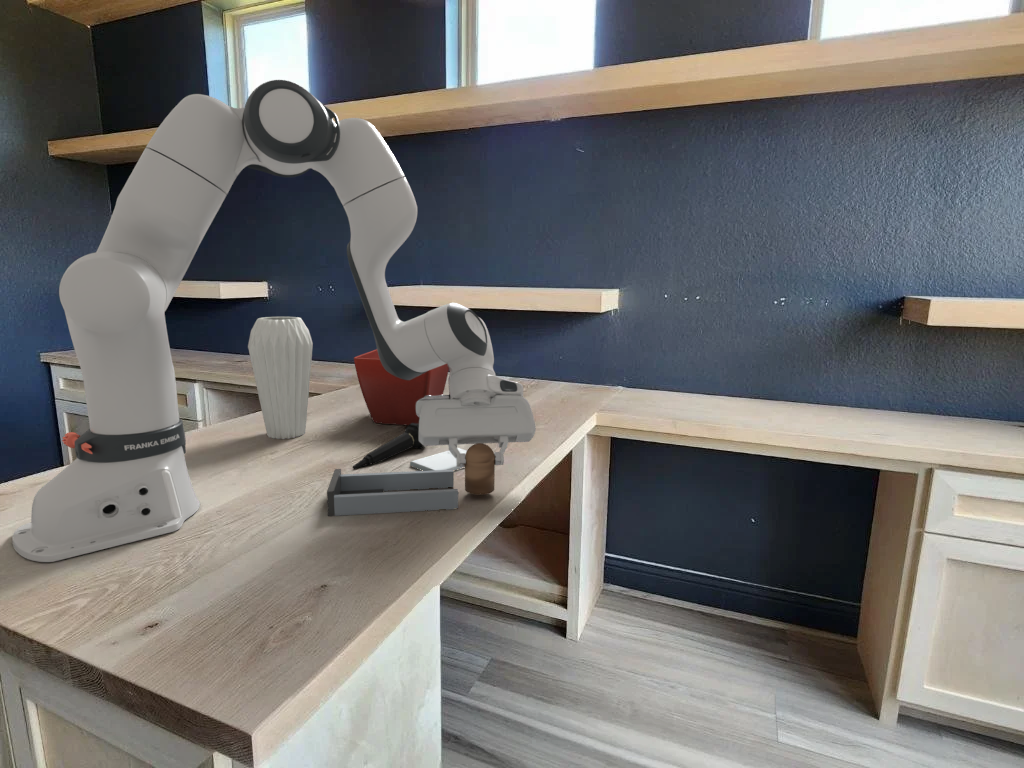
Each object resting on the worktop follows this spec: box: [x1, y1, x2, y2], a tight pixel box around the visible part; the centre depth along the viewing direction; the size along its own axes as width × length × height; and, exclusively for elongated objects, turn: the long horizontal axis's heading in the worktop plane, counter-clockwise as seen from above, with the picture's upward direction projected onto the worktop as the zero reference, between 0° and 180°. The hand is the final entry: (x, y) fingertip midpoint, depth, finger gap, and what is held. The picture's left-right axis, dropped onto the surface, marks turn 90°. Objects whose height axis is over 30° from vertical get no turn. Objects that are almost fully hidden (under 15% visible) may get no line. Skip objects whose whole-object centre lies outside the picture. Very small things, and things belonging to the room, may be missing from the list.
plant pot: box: [353, 348, 450, 426], centre depth 142 cm, size 19×19×17 cm
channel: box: [326, 468, 459, 517], centre depth 93 cm, size 20×10×4 cm, turn 100°
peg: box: [464, 443, 496, 496], centre depth 95 cm, size 5×5×8 cm
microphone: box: [352, 423, 424, 470], centre depth 115 cm, size 6×6×20 cm
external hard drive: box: [409, 447, 468, 471], centre depth 112 cm, size 2×8×12 cm
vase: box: [247, 316, 314, 440], centre depth 126 cm, size 13×13×26 cm
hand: (480, 464), depth 95 cm, fingers closed on peg, 5 cm apart
